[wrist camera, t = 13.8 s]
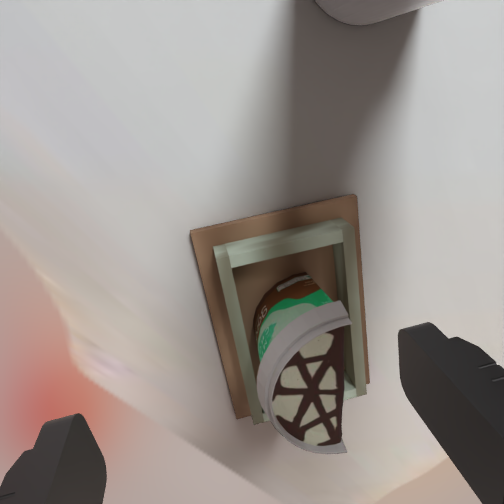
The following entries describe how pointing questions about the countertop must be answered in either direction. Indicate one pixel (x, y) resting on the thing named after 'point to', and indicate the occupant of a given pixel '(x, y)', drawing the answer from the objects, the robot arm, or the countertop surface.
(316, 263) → the holder
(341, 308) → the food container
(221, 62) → the countertop surface
